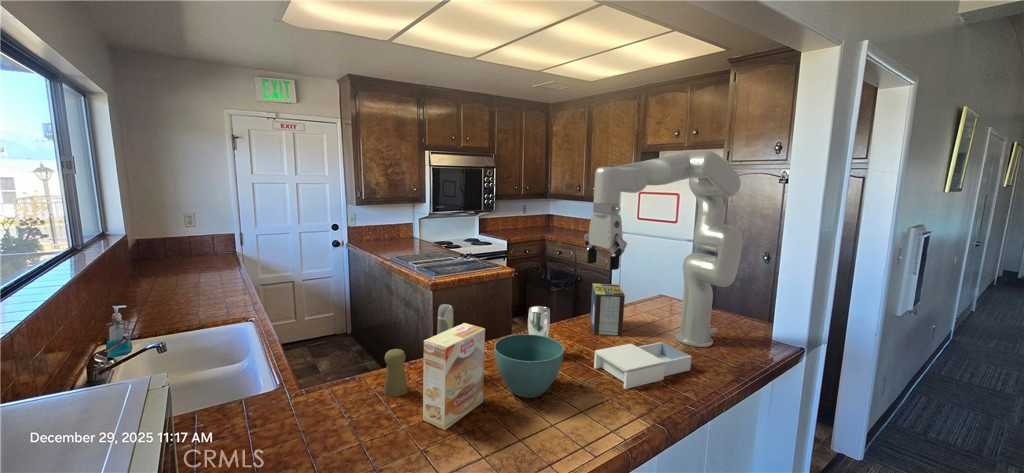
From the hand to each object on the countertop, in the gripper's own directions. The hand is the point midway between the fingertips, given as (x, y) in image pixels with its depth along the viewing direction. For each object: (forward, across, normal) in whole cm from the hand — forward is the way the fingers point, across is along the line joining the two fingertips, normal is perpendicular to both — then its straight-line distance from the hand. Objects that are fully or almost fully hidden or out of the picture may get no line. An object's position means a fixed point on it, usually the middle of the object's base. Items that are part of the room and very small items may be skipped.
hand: (602, 266), depth 129 cm
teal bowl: (+31, -5, +29) cm, 42 cm away
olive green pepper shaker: (+30, +10, +60) cm, 68 cm away
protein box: (+31, +21, -23) cm, 44 cm away
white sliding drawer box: (+30, -11, -10) cm, 34 cm away
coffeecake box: (+31, -6, +50) cm, 59 cm away
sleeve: (+30, -11, -3) cm, 32 cm away
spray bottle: (+31, +14, +45) cm, 56 cm away
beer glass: (+31, +13, +14) cm, 36 cm away
